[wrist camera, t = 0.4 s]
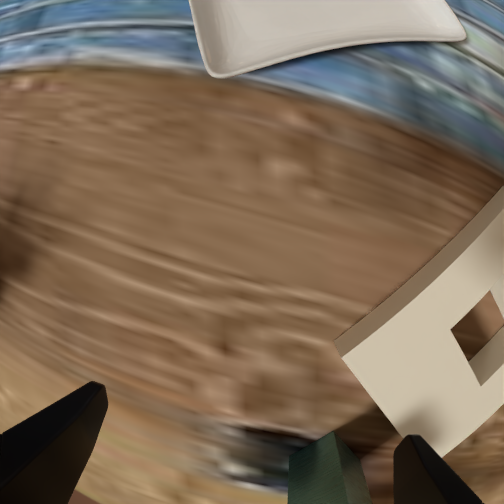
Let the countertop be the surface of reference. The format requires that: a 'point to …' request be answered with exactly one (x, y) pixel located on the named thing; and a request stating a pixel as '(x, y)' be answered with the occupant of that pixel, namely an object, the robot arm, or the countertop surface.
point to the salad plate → (310, 28)
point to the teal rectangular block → (326, 474)
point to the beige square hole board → (436, 340)
